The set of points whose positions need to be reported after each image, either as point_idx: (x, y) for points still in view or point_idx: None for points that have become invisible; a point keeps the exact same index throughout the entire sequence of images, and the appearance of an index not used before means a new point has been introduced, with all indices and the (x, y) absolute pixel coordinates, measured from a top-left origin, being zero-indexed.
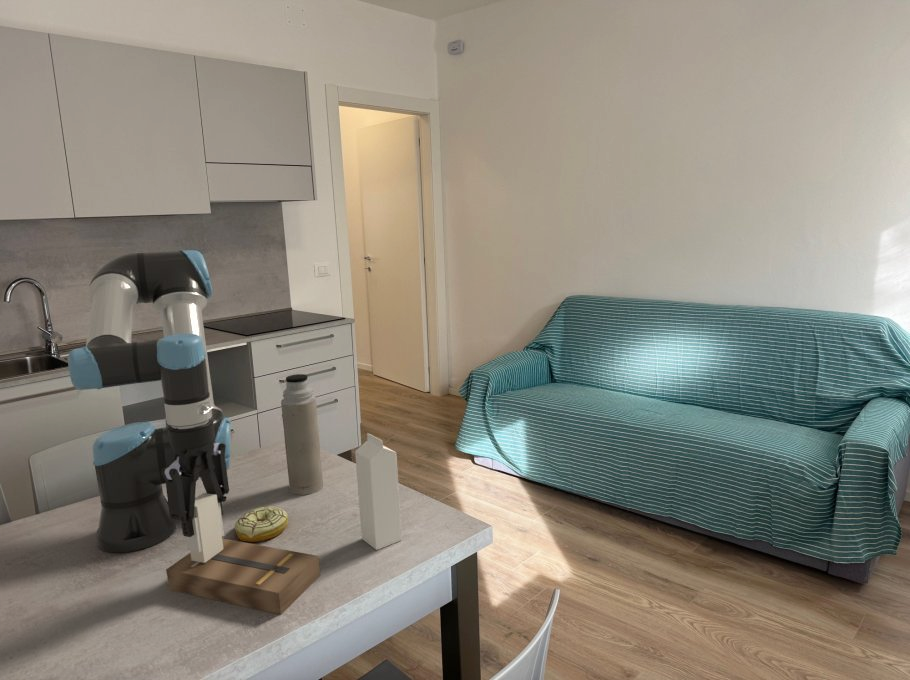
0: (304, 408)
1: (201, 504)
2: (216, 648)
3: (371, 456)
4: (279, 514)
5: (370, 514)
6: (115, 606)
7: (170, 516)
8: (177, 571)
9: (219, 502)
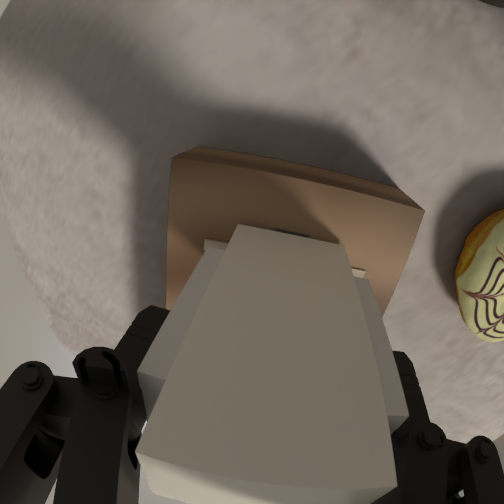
0: None
1: (193, 502)
2: (88, 342)
3: None
4: None
5: None
6: (109, 59)
7: (11, 380)
8: (170, 208)
9: None
